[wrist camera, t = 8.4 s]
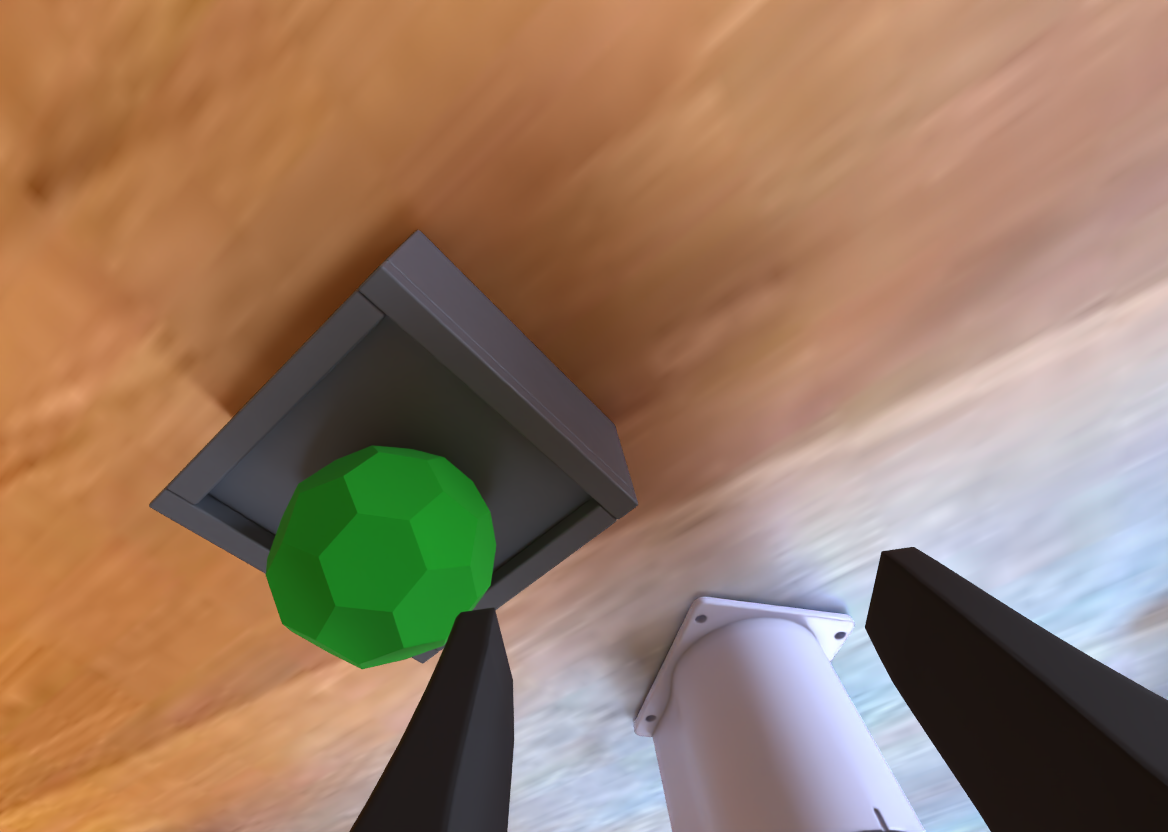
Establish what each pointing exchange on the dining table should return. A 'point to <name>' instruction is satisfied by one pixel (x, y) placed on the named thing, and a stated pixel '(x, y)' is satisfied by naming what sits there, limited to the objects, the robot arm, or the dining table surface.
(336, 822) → the dining table surface
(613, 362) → the dining table surface
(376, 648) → the polyhedron
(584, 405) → the grey box
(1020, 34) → the dining table surface
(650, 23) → the dining table surface
